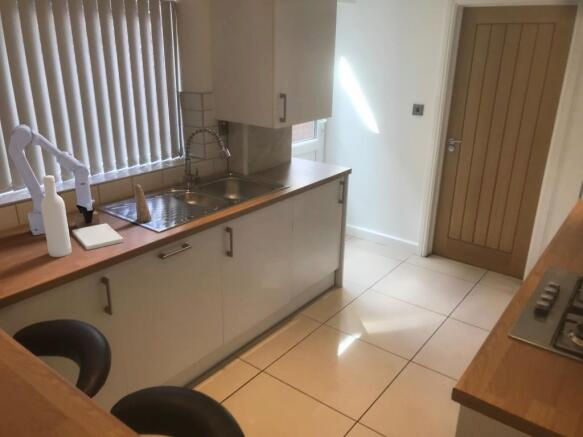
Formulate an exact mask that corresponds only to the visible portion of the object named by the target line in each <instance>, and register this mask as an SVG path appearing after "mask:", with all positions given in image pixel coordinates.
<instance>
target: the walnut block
mask: <svg viewBox="0 0 583 437" xmlns="http://www.w3.org/2000/svg"><path fill="white" fill-rule="evenodd" d="M73 216H74V222H75V227H76V228H77V229H80V228H85V227H90V226H95V225H100V224H101V222H100V215H99V212H98V211H96V210H94V212H93V215H92V223H88V224H86V222H85V219H84V215H83V213H80V212H79V213H75V214H73Z"/></svg>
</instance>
